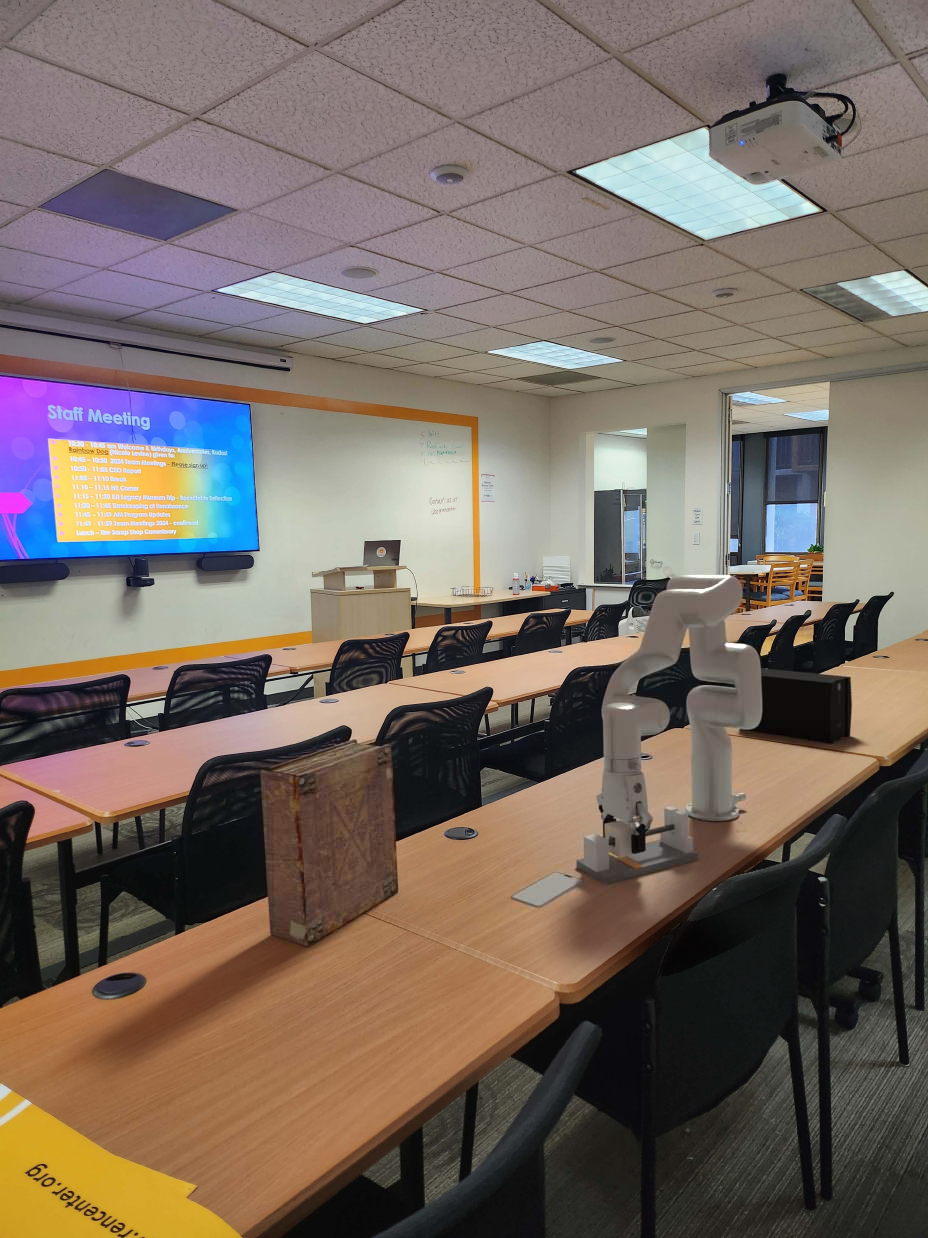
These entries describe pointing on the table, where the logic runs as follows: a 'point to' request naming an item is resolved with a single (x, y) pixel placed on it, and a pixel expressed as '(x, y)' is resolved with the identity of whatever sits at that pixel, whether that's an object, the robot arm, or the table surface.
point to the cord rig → (657, 855)
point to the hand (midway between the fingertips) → (623, 845)
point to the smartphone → (547, 889)
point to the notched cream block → (619, 837)
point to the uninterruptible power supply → (805, 705)
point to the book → (328, 839)
